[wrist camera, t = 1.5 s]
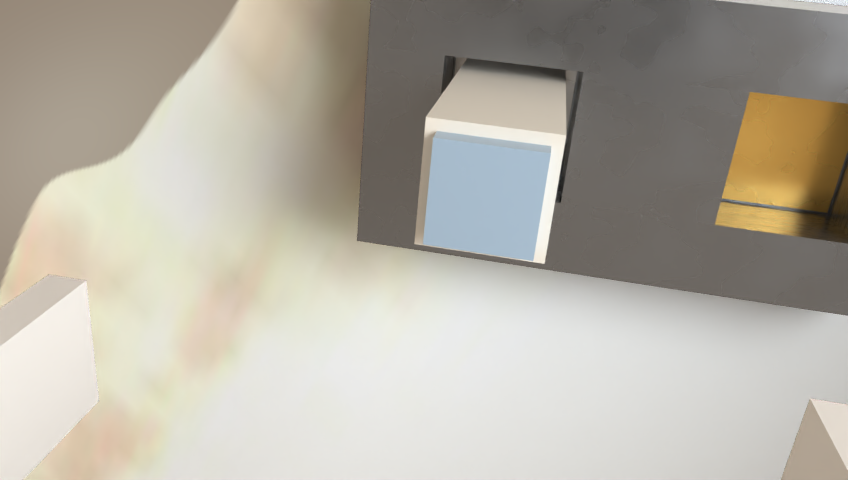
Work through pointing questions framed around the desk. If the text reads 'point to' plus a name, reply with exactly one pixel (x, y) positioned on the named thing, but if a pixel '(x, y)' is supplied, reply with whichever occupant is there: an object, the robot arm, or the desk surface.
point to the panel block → (644, 136)
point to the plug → (493, 161)
